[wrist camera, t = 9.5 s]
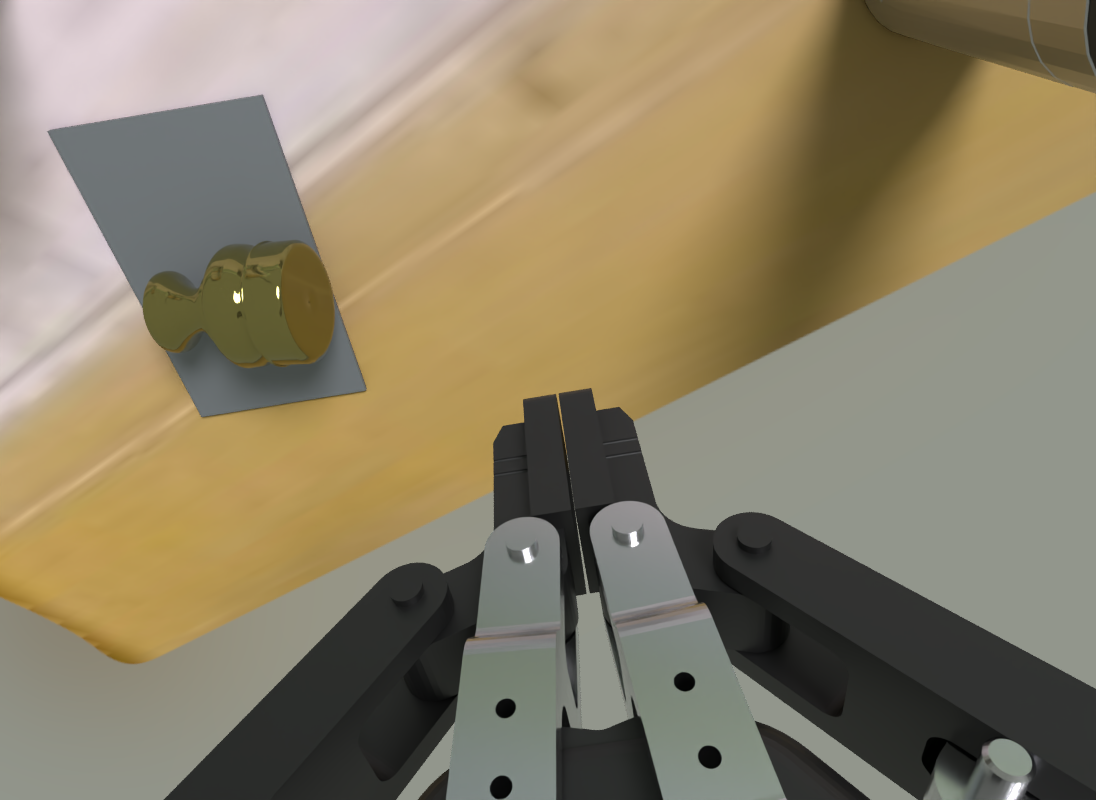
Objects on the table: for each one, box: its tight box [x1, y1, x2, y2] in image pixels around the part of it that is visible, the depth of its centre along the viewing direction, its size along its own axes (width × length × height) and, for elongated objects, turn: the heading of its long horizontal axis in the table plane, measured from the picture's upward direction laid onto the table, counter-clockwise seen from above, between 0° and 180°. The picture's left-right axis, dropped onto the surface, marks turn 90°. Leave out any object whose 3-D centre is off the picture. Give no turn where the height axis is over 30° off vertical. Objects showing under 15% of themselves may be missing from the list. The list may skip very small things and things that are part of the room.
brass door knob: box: [143, 240, 335, 369], centre depth 42 cm, size 7×7×10 cm
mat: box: [47, 95, 367, 417], centre depth 44 cm, size 12×20×1 cm, turn 8°
